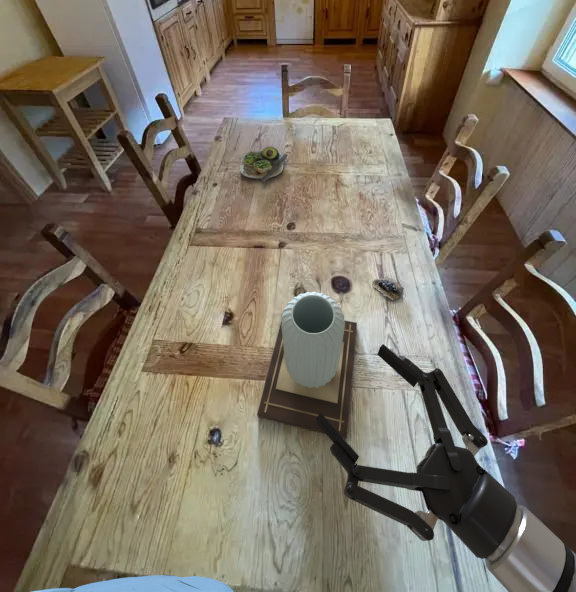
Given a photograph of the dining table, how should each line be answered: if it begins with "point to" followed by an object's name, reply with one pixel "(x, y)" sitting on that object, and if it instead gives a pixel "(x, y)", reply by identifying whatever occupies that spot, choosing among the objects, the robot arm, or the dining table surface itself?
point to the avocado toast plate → (262, 164)
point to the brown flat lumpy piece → (388, 288)
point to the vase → (312, 338)
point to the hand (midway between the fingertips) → (351, 381)
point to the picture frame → (309, 391)
